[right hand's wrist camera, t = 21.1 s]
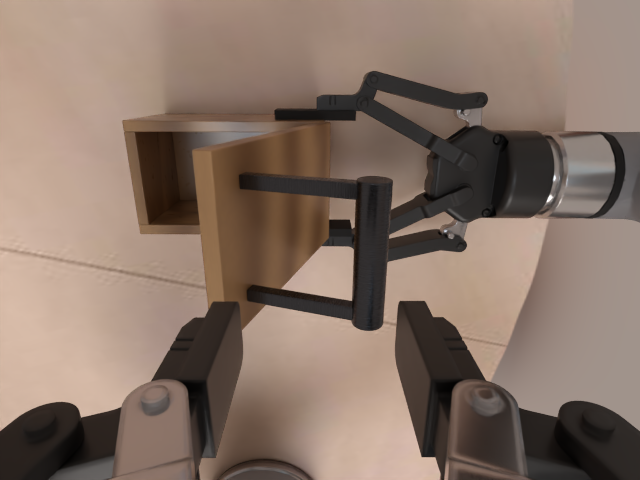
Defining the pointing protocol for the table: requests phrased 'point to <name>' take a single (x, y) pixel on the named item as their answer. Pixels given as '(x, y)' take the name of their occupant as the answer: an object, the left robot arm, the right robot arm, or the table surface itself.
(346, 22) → the table surface
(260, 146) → the lid
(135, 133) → the wooden box
